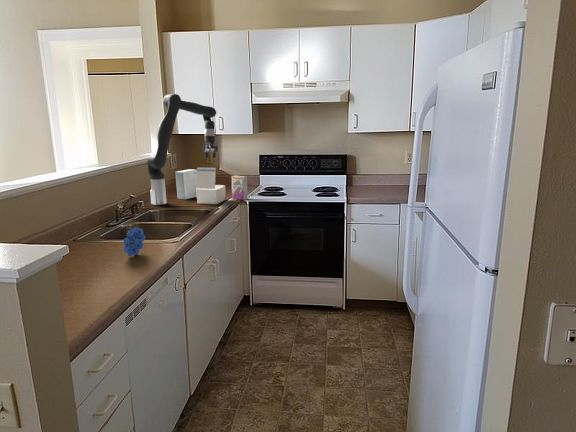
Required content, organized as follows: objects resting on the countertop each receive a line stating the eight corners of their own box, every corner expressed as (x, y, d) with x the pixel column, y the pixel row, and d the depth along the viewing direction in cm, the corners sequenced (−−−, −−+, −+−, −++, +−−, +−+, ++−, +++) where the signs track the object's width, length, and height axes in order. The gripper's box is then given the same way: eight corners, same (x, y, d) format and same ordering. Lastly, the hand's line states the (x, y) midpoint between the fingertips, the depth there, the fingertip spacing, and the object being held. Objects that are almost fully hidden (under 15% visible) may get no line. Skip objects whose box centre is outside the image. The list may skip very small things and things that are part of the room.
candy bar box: (231, 198, 303) (230, 176, 299) (236, 197, 307) (235, 175, 304) (243, 200, 297) (242, 177, 293) (248, 199, 301) (247, 176, 298)
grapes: (138, 249, 185) (136, 223, 182) (150, 251, 182) (147, 225, 179) (117, 257, 175) (114, 229, 172) (129, 259, 172) (126, 231, 169)
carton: (217, 204, 283) (217, 189, 281) (196, 203, 286) (195, 188, 284) (226, 199, 299) (225, 185, 297) (206, 199, 302) (205, 184, 300)
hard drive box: (192, 195, 317) (190, 169, 312) (199, 196, 313) (198, 169, 309) (176, 198, 304) (175, 171, 299) (184, 199, 300) (182, 172, 296)
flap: (214, 188, 280) (215, 167, 279) (196, 188, 283) (197, 167, 282) (215, 188, 281) (215, 167, 280) (197, 188, 283) (197, 167, 283)
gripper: (199, 135, 309) (200, 157, 312) (212, 135, 300) (212, 157, 303) (207, 135, 315) (208, 157, 318) (220, 135, 306) (220, 157, 308)
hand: (210, 157), depth 310 cm, fingers open, 8 cm apart
